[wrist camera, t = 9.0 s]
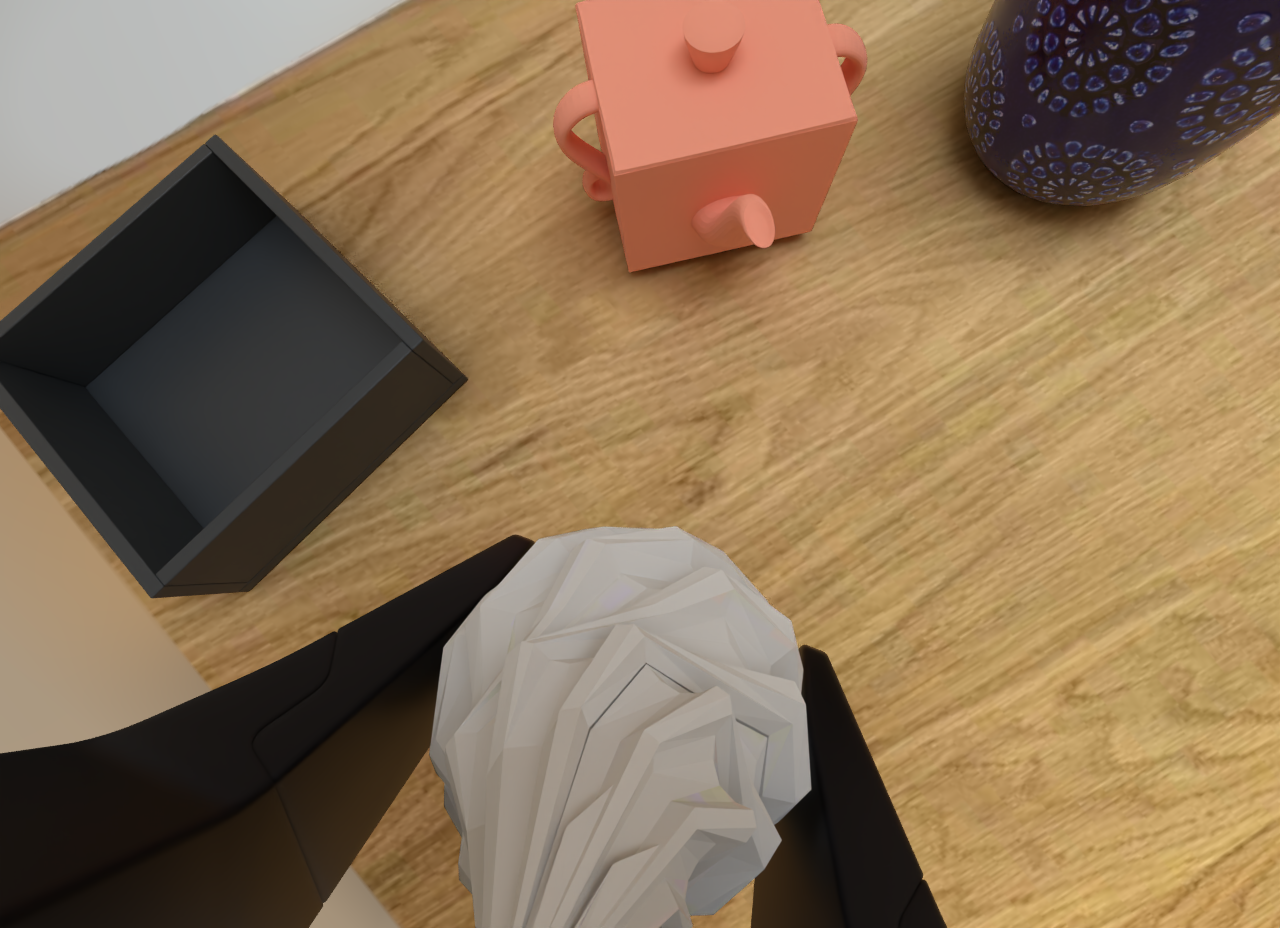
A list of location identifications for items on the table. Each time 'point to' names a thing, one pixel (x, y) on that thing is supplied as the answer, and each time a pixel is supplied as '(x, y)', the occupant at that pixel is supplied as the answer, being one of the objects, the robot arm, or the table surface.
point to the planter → (1117, 91)
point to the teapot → (711, 120)
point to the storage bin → (213, 378)
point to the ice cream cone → (618, 733)
